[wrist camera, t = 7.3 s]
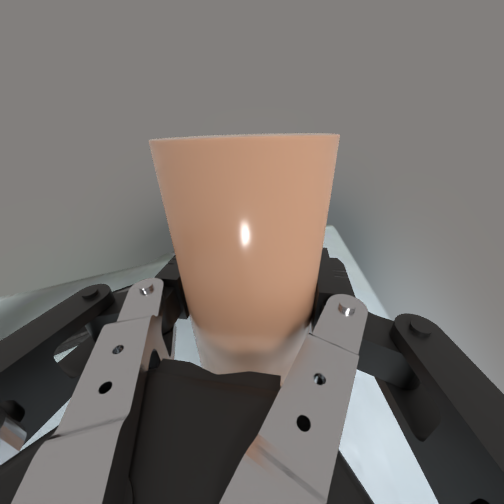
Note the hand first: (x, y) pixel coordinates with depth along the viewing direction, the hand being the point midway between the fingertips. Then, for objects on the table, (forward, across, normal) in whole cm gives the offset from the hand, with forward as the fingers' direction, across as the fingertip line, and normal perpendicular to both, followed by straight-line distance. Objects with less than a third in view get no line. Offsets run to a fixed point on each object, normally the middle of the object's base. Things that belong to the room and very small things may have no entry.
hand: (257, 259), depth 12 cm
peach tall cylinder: (-3, 0, +7) cm, 7 cm away
